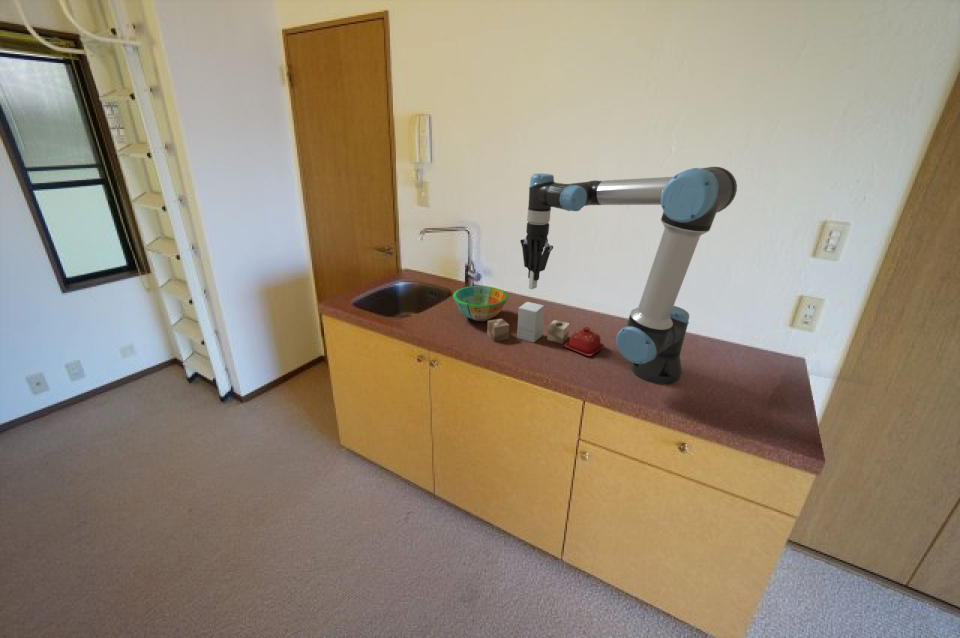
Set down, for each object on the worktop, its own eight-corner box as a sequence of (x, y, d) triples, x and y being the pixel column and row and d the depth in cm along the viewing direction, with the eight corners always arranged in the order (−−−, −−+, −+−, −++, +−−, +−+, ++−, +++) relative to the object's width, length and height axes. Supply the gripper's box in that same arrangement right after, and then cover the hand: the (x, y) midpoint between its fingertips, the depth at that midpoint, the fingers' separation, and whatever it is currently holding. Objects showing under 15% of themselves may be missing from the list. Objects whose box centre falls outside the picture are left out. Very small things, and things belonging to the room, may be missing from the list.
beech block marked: (567, 337, 159) (569, 322, 157) (562, 343, 155) (563, 328, 152) (553, 333, 162) (554, 319, 159) (547, 339, 157) (548, 324, 155)
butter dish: (561, 348, 152) (564, 327, 149) (579, 337, 160) (581, 317, 156) (589, 359, 145) (592, 338, 141) (606, 348, 152) (609, 327, 149)
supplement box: (542, 335, 160) (545, 305, 155) (533, 343, 154) (536, 312, 149) (525, 330, 164) (527, 300, 158) (516, 338, 158) (518, 307, 153)
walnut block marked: (508, 339, 157) (509, 324, 155) (494, 341, 155) (494, 326, 152) (501, 332, 162) (502, 317, 160) (487, 335, 160) (487, 320, 157)
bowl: (474, 302, 188) (474, 281, 184) (517, 315, 176) (518, 293, 172) (442, 319, 172) (441, 296, 167) (486, 334, 160) (487, 310, 156)
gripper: (560, 224, 139) (553, 290, 149) (530, 217, 147) (525, 280, 157) (546, 227, 134) (540, 295, 144) (516, 220, 143) (512, 285, 153)
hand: (532, 287), depth 151 cm, fingers closed
